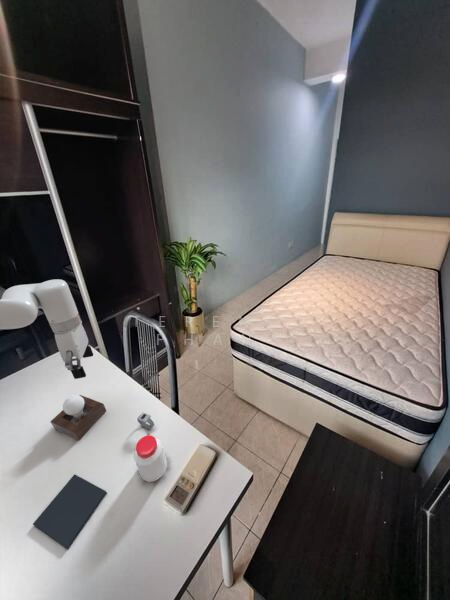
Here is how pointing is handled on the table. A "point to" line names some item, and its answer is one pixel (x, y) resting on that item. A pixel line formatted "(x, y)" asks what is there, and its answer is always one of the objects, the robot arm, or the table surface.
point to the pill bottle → (150, 458)
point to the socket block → (84, 424)
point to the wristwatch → (145, 420)
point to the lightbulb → (74, 406)
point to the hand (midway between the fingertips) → (84, 366)
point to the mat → (70, 510)
